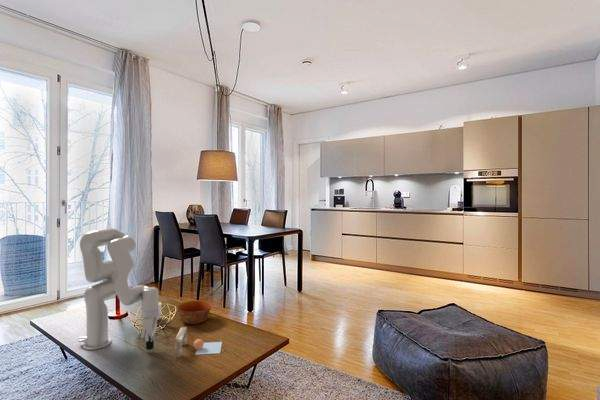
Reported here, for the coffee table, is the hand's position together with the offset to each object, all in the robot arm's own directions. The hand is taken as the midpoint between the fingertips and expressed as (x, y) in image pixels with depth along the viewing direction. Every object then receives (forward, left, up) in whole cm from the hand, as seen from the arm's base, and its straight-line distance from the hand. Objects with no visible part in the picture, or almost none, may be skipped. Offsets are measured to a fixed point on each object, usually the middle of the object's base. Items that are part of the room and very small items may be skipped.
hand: (149, 348), depth 164 cm
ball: (+24, 0, +1) cm, 24 cm away
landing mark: (+29, 0, -2) cm, 29 cm away
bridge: (+15, 0, -2) cm, 15 cm away
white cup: (-9, +41, -2) cm, 42 cm away
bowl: (+16, +36, -2) cm, 39 cm away
